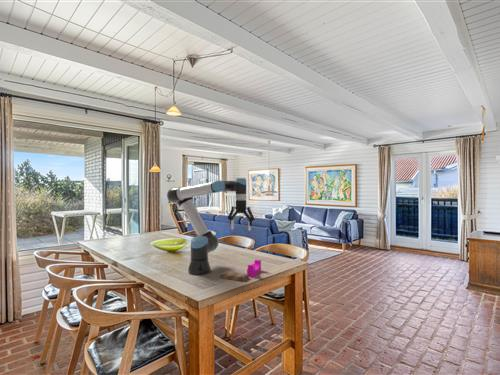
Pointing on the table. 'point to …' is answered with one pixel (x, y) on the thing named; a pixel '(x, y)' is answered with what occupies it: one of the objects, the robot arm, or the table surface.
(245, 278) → the brown flat bar
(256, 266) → the toy block
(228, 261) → the table surface
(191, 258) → the robot arm
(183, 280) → the table surface
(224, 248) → the table surface
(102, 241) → the table surface
